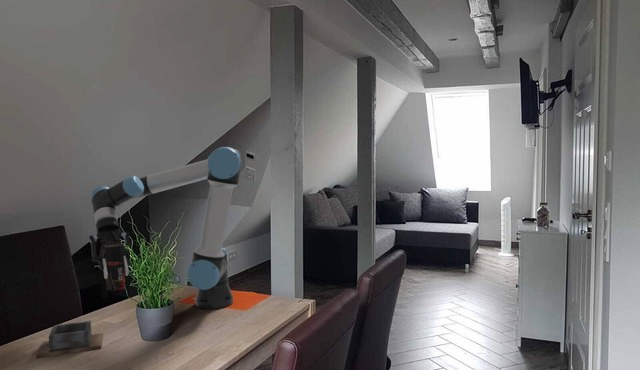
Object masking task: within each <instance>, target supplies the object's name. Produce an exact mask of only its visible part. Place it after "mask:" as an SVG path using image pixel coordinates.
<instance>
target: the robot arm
mask: <svg viewBox="0 0 640 370" xmlns="http://www.w3.org/2000/svg"><path fill="white" fill-rule="evenodd" d="M245 164H246V162H245V157H244V155H243V153H242V152H241V151H240V150H239V149H237V148H234V147H229V146H220V147H217V148H216V149H214V150H213V151H212V152H211V153H210V154H209V156H208V157H207V159H204V160H200V161H196V162H194V163H190V164H186V165H183V166H179V167H175V168H171V169H167V170H164V171H160V172H157V173H154V174H150V175H147V176H143V177H142V176H141V177H138V176H136V175H131V176H129V177H127V178H126V177H125V178H124V179H123V180H121V181H120V182H118V183H116V184H114V185H113V186H111V187H108V186H104V185H101V186H100V187H99V186H97V187H96V188H94V189H93V190H92V191H91V195H90V197H91V202H90V203H91V204H92V209H93V215H94V216H93V217H94V221H95V228H96V232H97V233H96V235H91V234H90V235H89V236H88V242H89V243H90V247H91V261H92V262H93V263H98V267H99V270H100V271H103V277H104V280H106V279H107V277H108V272H107V267H106V261H105V252H104V246H106V245H112V244H121V243H122V240H121V238H122V239H123V240H124V242H125V241H126V243H127V245H129V246H131V245H132V242H131V238H130V236H131V235H130V234H131V232H130V231H126V232H122V231H121V229H120V225H119V221H118V220H119V219H118V215H117V209H116V208H117V207H119V206H121V205H122V204H125V203H126V202H128V201H130V200H135V199H138V198H139V199H140V198H144V197H147V196H150V195H153V194H157V193H160V192H164V191H167V190H171V189H176V188H178V187H181V186H186V185H189V184H193V183H197V182H201V181H203V180H207V182H208V183H209V190H208V196H207V201H206V205H205V210H204V211H205V212H204V217H203V223H202V229H201V234H200V239H199V243H198V246H197V247H196V248H195V249H194V250H193V254H192V259H191V264H190V265H189V267H188V269H187V279H188V281H189V283H190V284H191V285H192V286H193V287H194V288H196V289H197V293H196V296H195V302H194V303H195V307H196V308H198V309H206V310H212V309H220V308H225V307H228V306H230V305H232V304H233V303H234V297H233V293H232V290H231V288H230V285H229V272H228V270H229V269H228V256H229V255H228V249H226V248H225V247H223V244H224V239H225V234H226V228H227V222H228V217H229V211H230V208H231V207H230V206H231V201H232V195H233V190H234V189H235V188H236V187H237V186H239V180H240V176H241V172H243V170H244V168H245V166H246V165H245ZM97 240H98V241H99V242H101V245H100V251H99V255H98V256H97V246H96V245H97V244H96V243H97ZM126 243H125V244H126ZM125 249H126V246H124V245H123V257H124V274H125V276H126V277H128V276H129V272H130V271H129V267H130V265H131V260H130V258H129V255H130V253H129V251H128V250H127V249H126V250H125ZM132 249H133V250H134V248H133V247H132Z"/></svg>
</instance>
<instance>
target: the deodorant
mask: <svg viewBox="0 0 640 370" xmlns="http://www.w3.org/2000/svg"><path fill="white" fill-rule="evenodd" d="M123 246H124V245H123V243H122V244H109V245H106V246H104V258H105V261H106V267H107V272H108V277H107V279H105V283H106V291H110V292H112V291H115V292H116V291H121V290H124V289H125V288H126V277H125V276H126V275H125V270H124V257H123Z"/></svg>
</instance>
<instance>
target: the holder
mask: <svg viewBox="0 0 640 370" xmlns="http://www.w3.org/2000/svg"><path fill="white" fill-rule="evenodd" d="M103 338H104V332H101V333H100V332H99V333H95V334H92V320H86V321H77V322H68V323H62V324H61V323H60V324H54V325H53V327H52V328H51V330H50V333H49V335H48V340H44V341H42V342H41V345H40V347H39V349H38V350H37V353H36V355H35V356H36V359H40V358H46V357H52V356H59V355H66V354H72V353H73V354H74V353H80V352H85V351H86V352H87V351H92V350H100V349H102V345H103V340H104V339H103Z"/></svg>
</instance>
